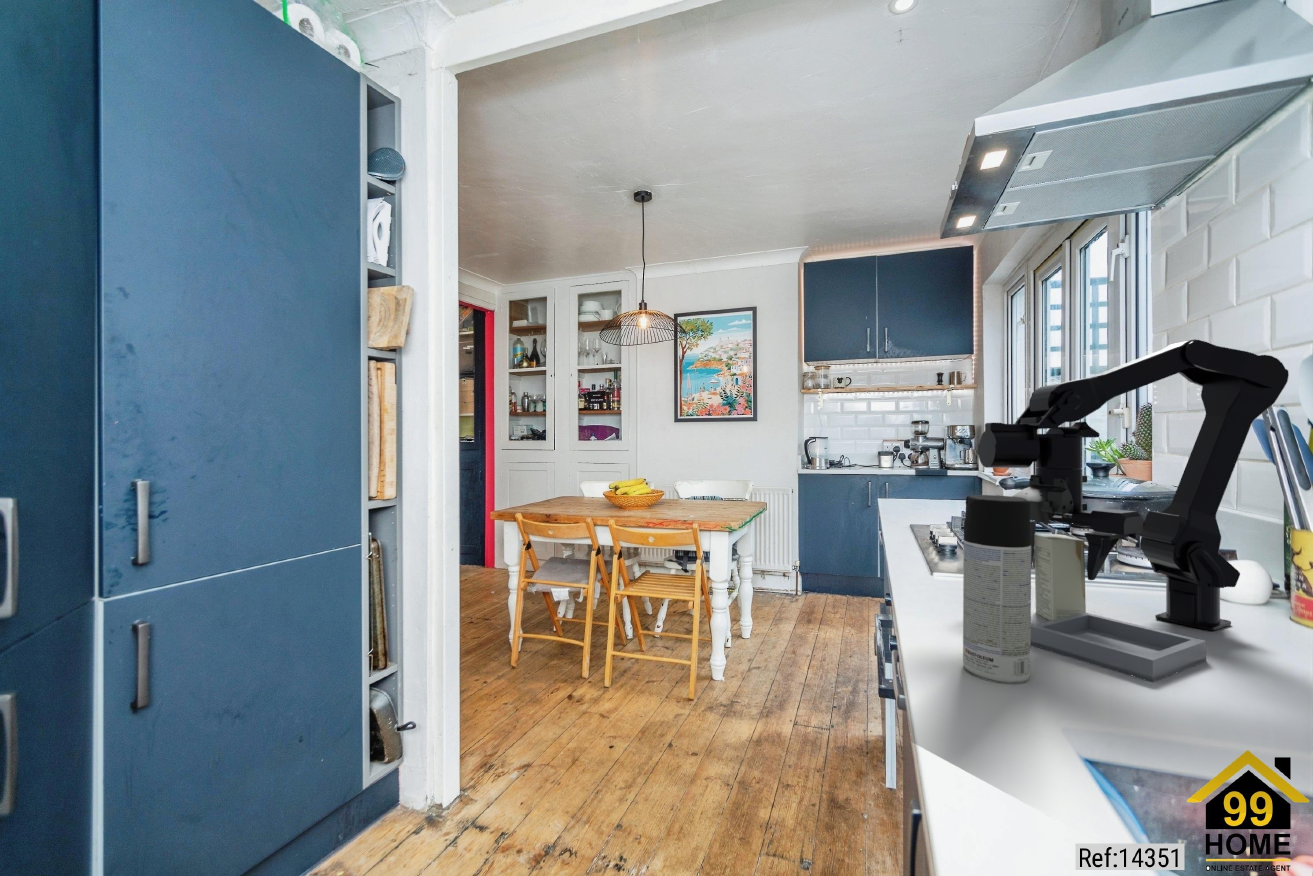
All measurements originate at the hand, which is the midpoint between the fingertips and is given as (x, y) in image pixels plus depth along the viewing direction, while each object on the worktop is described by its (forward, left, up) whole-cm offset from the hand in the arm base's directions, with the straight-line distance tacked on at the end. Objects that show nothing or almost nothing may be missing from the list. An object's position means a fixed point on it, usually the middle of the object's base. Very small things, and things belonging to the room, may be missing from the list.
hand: (1058, 573), depth 85 cm
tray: (+9, +11, -7) cm, 16 cm away
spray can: (+28, +8, -7) cm, 30 cm away
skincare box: (0, 0, -7) cm, 7 cm away
